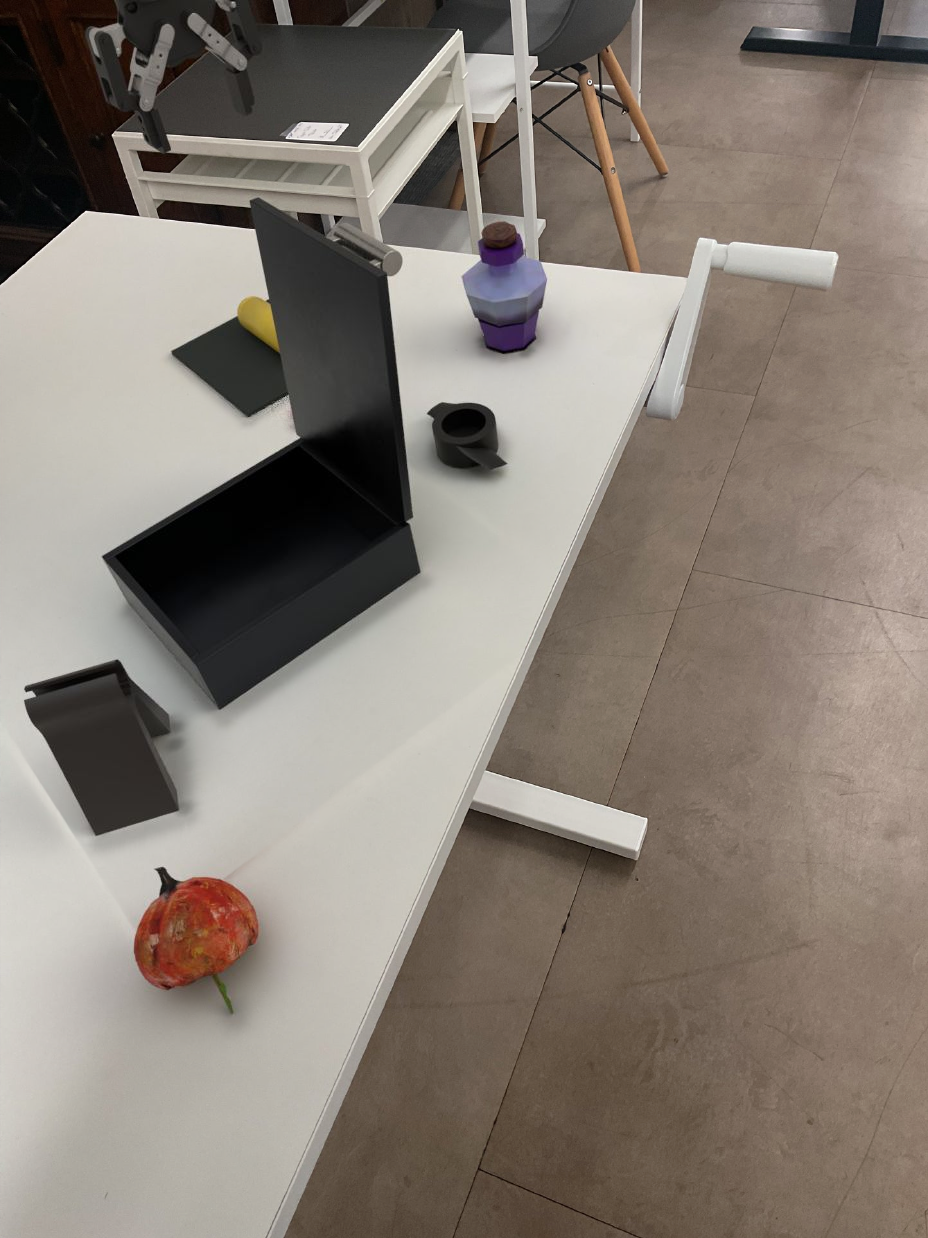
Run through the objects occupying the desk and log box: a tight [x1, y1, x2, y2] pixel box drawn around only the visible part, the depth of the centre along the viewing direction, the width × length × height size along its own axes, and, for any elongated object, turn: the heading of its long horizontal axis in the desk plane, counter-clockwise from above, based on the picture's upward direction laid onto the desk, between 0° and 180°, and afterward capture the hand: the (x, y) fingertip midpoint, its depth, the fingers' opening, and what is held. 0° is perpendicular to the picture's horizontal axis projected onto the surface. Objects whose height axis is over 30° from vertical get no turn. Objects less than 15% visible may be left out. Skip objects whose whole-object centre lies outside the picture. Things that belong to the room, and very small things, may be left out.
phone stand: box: [23, 658, 180, 837], centre depth 70 cm, size 9×6×12 cm, turn 15°
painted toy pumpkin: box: [133, 866, 259, 1015], centre depth 62 cm, size 7×7×10 cm
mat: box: [170, 298, 289, 418], centre depth 107 cm, size 16×16×1 cm
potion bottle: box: [460, 221, 548, 355], centre depth 99 cm, size 9×9×12 cm
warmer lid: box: [249, 197, 414, 522], centre depth 76 cm, size 20×16×5 cm
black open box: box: [101, 437, 422, 711], centre depth 82 cm, size 20×16×6 cm
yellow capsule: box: [236, 295, 280, 353], centre depth 106 cm, size 4×12×4 cm, turn 40°
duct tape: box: [426, 401, 508, 471], centre depth 92 cm, size 8×10×3 cm
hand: (204, 131), depth 90 cm, fingers open, 8 cm apart
